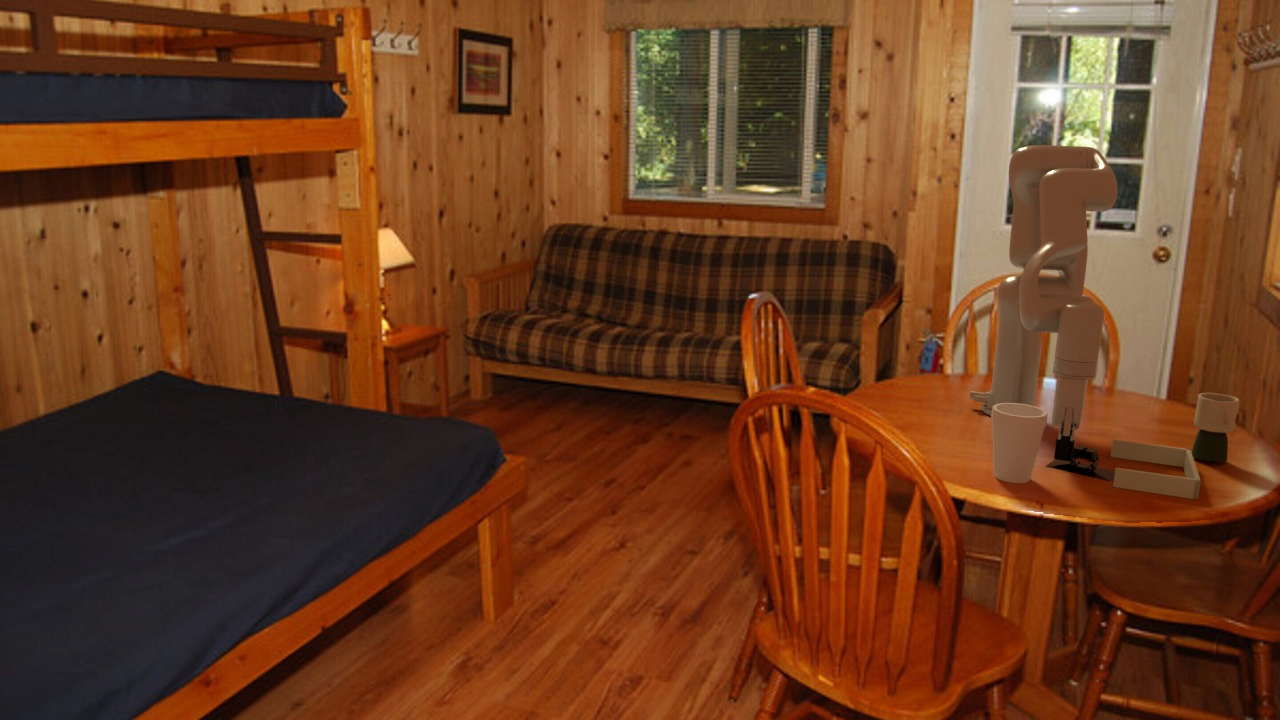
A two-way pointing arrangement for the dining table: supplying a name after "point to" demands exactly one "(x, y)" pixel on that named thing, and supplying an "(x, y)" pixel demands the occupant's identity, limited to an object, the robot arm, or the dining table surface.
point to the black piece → (1083, 464)
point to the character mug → (1214, 425)
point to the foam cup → (1016, 440)
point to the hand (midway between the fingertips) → (1062, 459)
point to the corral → (1155, 481)
